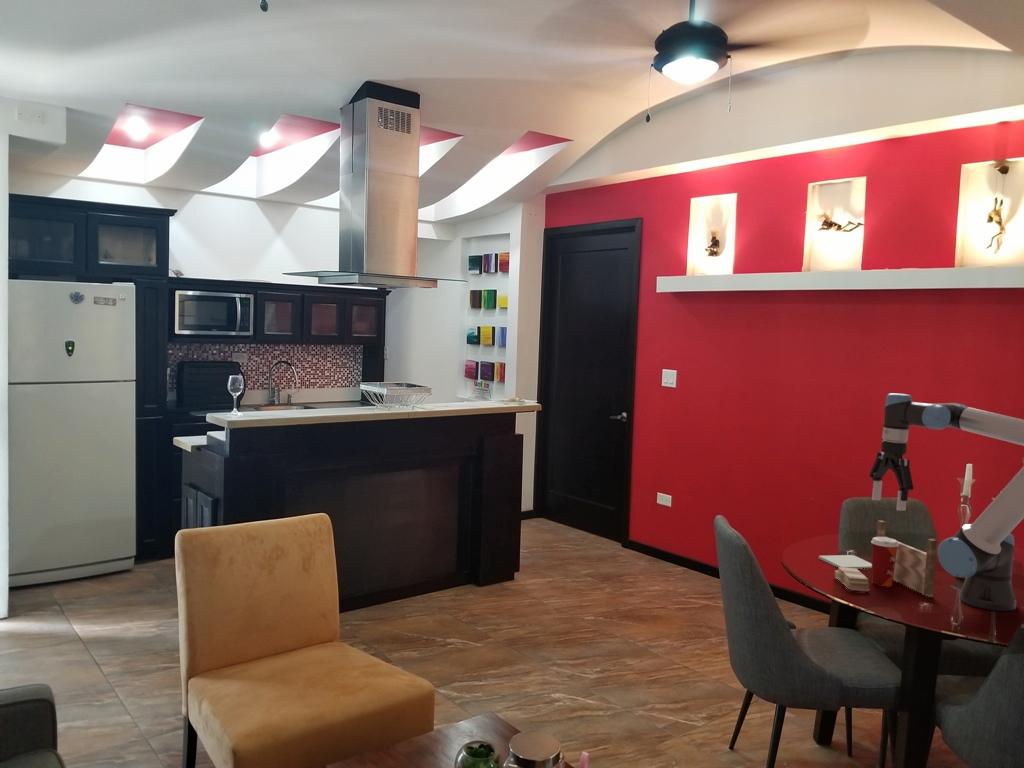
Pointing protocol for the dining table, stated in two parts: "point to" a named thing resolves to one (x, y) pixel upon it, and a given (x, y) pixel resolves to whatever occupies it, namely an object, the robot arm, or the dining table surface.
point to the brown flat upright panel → (913, 564)
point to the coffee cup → (883, 560)
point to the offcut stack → (852, 579)
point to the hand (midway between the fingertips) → (888, 505)
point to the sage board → (846, 561)
